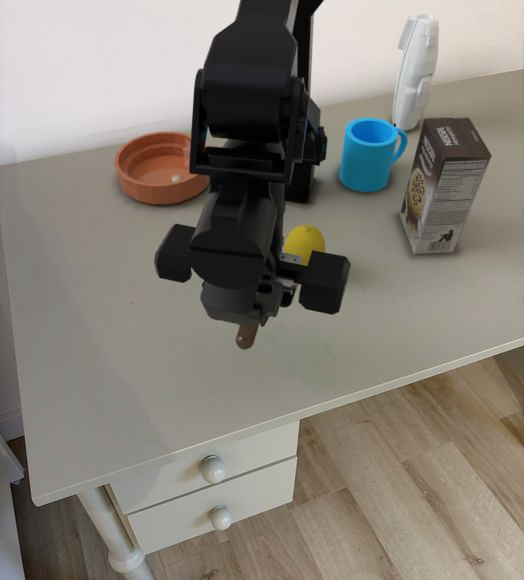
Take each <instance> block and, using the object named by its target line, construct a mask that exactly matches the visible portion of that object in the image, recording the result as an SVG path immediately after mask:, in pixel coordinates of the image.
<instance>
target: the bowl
mask: <svg viewBox="0 0 524 580" xmlns="http://www.w3.org/2000/svg"><path fill="white" fill-rule="evenodd" d="M190 145H191V134H189V133H185V132H179V131H172V130H171V131H156V132H150V133H145V134H142V135H140V136H139V135H138V136H137V137H134V138H132V139H131V140H129V141H127V142H126V143H125V144H123V145H122V146H121V147H120V148H119V149H118V151H117V152H116V153H115V156H114V161H113V162H114V163H113V164H114V168H115V172H116V176H117V180H118V183H119V186H120V189H121V190H122V191H123V192H124V193H125V194H126V195H127V196H128V197H130V198H132V199H134V200H136V201H137V202H140V203H146V204H150V205H171V204H175V203H176V204H177V203H181V202H184V201H187V200H189V199H191V198H193V197H195V196H197V195H199V194H200V193H202V191H204V190H205V189H206V188H207V187H208V185H209V184H210V177H209V176H205V175H196V174H190V173H189V161H190ZM207 146H208V145H207V144H206V143H205V147H207ZM204 151H205V150H204ZM176 174H179V175H181V176H183V178H184V179H183V180H181V181H176V182H171V183H170V179H171V177H172V176H173V175H176Z"/></svg>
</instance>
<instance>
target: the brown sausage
mask: <svg viewBox="0 0 524 580" xmlns="http://www.w3.org/2000/svg"><path fill="white" fill-rule="evenodd" d="M259 327H260V322H258V321H256V322H255V323H254V324H253V325H251V326H240V325H239V327H238V330H237V333H236V337H235V344H236V346H237V348H239V349H241V350H244V351H247V350H249V349H251V348H252V347H253V346H254V344H255V340H256V337H257V334H258V331H259Z"/></svg>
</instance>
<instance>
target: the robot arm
mask: <svg viewBox="0 0 524 580" xmlns="http://www.w3.org/2000/svg"><path fill="white" fill-rule="evenodd" d="M324 1H325V0H239V3H238V8H237V12H236V15H235V18H234V21H233V22H231V23H230V24H229V25H227V26H226V27H225V28H223V29H222V30H220V31H219V32H217V33H216V34H215V35H214V36H213V38H212V40H211V43H210V45H209V49H208V51H207V54H206V56H205V60H204V63H203V67H202V68H201V67H200V68H198V69H197V72H196V74H195V77H194V85H193V98H192V112H191V113H192V114H191V129H190V130H191V131H190V135H191V145H190V161H189V173H190V174H196V175H205V176H209V177H210V182H209V192H208V194H207V196H206V199H205V202H204V205H203V207H202V210H201V213H200V215H199V218H198V220H197V223H196V226H191V225H186V224H181V223H174V224H173V225H172V226H171V227H169V230H168V231H167V233H166V235H165V237H164V238H163V240H162V241H161V243H160V244H159V246H158V247H157V250H156V252H155V254H154V260H153V264H154V268H155V272H156V275H157V276H158V278H159V279H162V280H167V281H171V282H176V283H181V284H185V283H186V282H189V280H191V278H192V277H193V273H195V274H196V275H197V276H198V278H200V279H202V280H203V282H202V284H201V288H202V289H201V292H200V295H199V299H200V303H201V305H202V306H203V308H204V310H205V312H206V314H207V316H208V317H209V318H210V319H211V320H214V321H222V322H225V323H230V324H236V325H238V326H239V327H240V326H251V325H253V324H254V323H255V322H256V321H258V322H260V324H259V327H261V328H264V327H265V326H266V324H267V322H268V321H269V318H270V317H271V318H276V317H277V316H278V314H279V310H280V308H282V309H284V308H285V309H286V308H289V307H290V306H292V305H293V301H294V298H295V295H296V292H297V289H298V286H299V285H300V289H299V293H298V303H299V304H300V305H301V306H302V307H303V309H305V310H307V311H312V312H316V313H321V314H325V315H331V316H333V315H336V314H338V313H340V311H341V307H342V304H343V300H344V299H343V298H344V297H345V296H344V295H345V291H346V287H347V284H348V280H349V277H350V271H351V267H352V266H351V265H352V263H351V261H349V259H348V257H347V256H345V255H341V254H335V253H330V252H326V251H325V252H320V251H315V250H312V253H311V256H310V259H309V262H308V265H307V266H306V265H301V262H302V256H299V255H294V254H289V253H285V252H283V247H284V245H285V244H284V243H285V241H284V240H285V236H284V216H285V212H286V201H287V202H288V201H289V202H293V203H294V202H295V203H300V204H308V203H309V201H310V198H311V196H312V194H313V193H312V192H313V191H314V188H315V185H316V182H317V179H316V178H315V172H316V171H315V169H316V167H320V166H321V163H322V162H323V161H326V159H327V151H328V136H327V134H326V130H325V126H324V125H321V113H322V111H321V108H320V107H319V106H318V104H316V103H315V101H314V100H313V98H311V92H312V91H311V89H312V88H311V87H312V67H313V66H312V65H313V64H312V62H313V43H314V23H315V13H316V11H317V10H319V8H320V6H321V5H322V4H323V3H324ZM208 132H209V134H210V136H211V137H212V138H214V139H223V140H224V139H225V140H226V141H225V142H224V143H223V145H222V146H212V145H206V146H207V147H205V144H206V142H207V138H208V137H207V136H208ZM204 150H205V151H204ZM192 270H193V272H192Z"/></svg>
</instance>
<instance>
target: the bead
mask: <svg viewBox="0 0 524 580" xmlns="http://www.w3.org/2000/svg"><path fill="white" fill-rule="evenodd" d="M183 179H184V178H183V176H181V175H179V174H176V175H173V176H172V177H171V179H170V183H171V182H176V181H181V180H183Z"/></svg>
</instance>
